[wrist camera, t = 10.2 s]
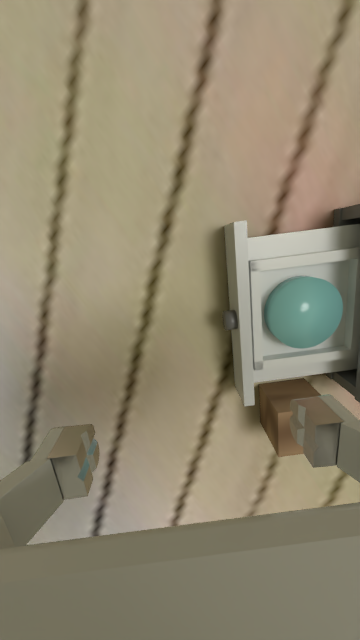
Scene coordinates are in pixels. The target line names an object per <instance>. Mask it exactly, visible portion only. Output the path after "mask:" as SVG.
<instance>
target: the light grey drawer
mask: <svg viewBox="0 0 360 640" xmlns="http://www.w3.org/2000/svg"><path fill="white" fill-rule="evenodd" d="M224 230H225V245H226V260H227V275H228V289H229V304H230V310H228V311H223V313H222V318H223V325H224V329H225V330H231V334H232V348H233V363H234V378H235V388H236V390H237V392H238V394H239V396H240V398H241V400H242V402H243V405H244V406H251V405H255V399H254V382H262V381H270V380H277V379H285V378H292V377H300V376H308V375H315V374H323V373H330V372H338V371H346V370H353V369H357V366H358V354H359V343H360V224H354V225H346V226H338V227H330V228H322V229H315V230H307V231H299V232H291V233H283V234H275V235H267V236H260V237H252V238H247V221H239V222H233V223H230V224H228V225H225V226H224ZM295 276H310V277H315V278H320V279H323V280H326V281H328V282H330V283H331V284H332V285H334V286H335V287H336V289H337V290H338V291H339V293H340V295H341V298H342V302H343V313H342V318H341V321H340V323H339V325H338V327H337V329H336V330H335V332H334V333H333V334H332V335H331V336H330V337H329V338H328V339H327V340H325V341H324V342H322V343H320V344H318V345H316V346H314V347H310V348H303V349H300V348H293V347H290V346H287V345H285V344H284V343H282V342H281V341H280V340H279V339H277V338H276V337H275V336H274V335H273V334H272V333H271V332H270V331H269V330H268V328H267V326H266V323H265V320H264V308H265V304H266V301H267V298H268V297H269V295H270V293H271V292H272V291H273V289H274V288H275V287H276V286H277V285H279V284H280V283H281V282H283V281H284V280H286V279H289V278H291V277H295Z"/></svg>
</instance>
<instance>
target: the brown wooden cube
mask: <svg viewBox="0 0 360 640" xmlns="http://www.w3.org/2000/svg"><path fill="white" fill-rule="evenodd" d="M259 396H260V422H261V424H262V426H263V428H264V430H265V432H266V434H267V436H268V438H269V440H270V441H271V443H272V445H273V447H274V449H275V451H276V453H277V455H278V457H282V456H290V455H297V454H304V453H303V447H302V446H301V445H299V444H297V442H296V441H295V439H294V438H293V435H292V433H291V429H290V417H291V416H292V414H293V412H292V411H291V410H290V402H291V400H294V399H302V398H310V397H316V396H321V394H319V393H318V392H317V391H316V390H315V389H314V388H313V387H312V386H311V385H310V384H309V383H308V382H307V381H306V380H305V379H304V378H303V379H296V380H288V381H280V382H273V383H265V384H259Z"/></svg>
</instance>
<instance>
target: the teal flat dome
mask: <svg viewBox="0 0 360 640" xmlns="http://www.w3.org/2000/svg"><path fill="white" fill-rule="evenodd" d="M342 313H343V302H342V298H341V295H340V293H339V291H338V290H337V289H336V287H335V286H334V285H332V284H331V283H330V282H328V281H326V280H323V279H320V278H315V277H310V276H295V277H291V278H289V279H286V280H284V281H283V282H281V283H280V284H279V285H277V286H276V287H275V288H274V289H273V291H272V292H271V293H270V295H269V297H268V298H267V301H266V304H265V308H264V320H265V323H266V326H267V328H268V330H269V331H270V332H271V333H272V334H273V335H274V336H275V337H276V338H277V339H279V340H280V341H281V342H282V343H284V344H285V345H287V346H290V347H293V348H300V349H303V348H310V347H314V346H316V345H318V344H320V343H322V342H324V341H325V340H327V339H328V338H329V337H330V336H331V335H332V334H333V333H334V332H335V330H336V329H337V327H338V325H339V323H340V321H341V318H342Z"/></svg>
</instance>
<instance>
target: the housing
mask: <svg viewBox="0 0 360 640" xmlns="http://www.w3.org/2000/svg"><path fill="white" fill-rule="evenodd" d="M354 224H360V204H358V205H354V206H349V207H345V208H340V209H335V210H334V226H333V227H338V226H346V225H354ZM326 376H328V377H329V378H330V379H333V380H335V381H336V382H337V383H338V384H340V385H341V386H342V387H343V388H345V389H346V390H347V391H348V392H350V393H351V394H352V395H353V396H355V399H356V400H357V401H358V402H360V343H359V354H358V366H357V369H353V370H346V371H338V372H330V373H326Z"/></svg>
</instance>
